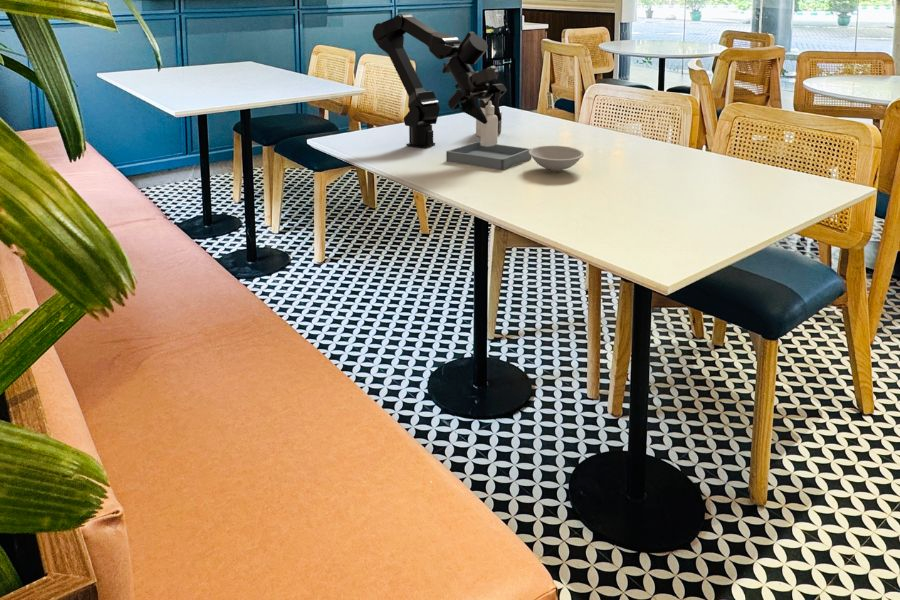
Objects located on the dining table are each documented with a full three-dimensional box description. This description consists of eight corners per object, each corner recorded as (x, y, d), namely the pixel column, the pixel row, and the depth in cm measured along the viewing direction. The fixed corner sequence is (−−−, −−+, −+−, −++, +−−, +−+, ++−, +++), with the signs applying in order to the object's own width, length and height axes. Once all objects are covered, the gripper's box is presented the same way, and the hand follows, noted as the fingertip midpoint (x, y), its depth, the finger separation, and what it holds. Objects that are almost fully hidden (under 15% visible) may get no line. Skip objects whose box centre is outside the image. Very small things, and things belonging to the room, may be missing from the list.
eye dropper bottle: (476, 144, 230) (477, 100, 225) (494, 142, 232) (495, 99, 227) (483, 147, 226) (484, 102, 221) (501, 145, 228) (502, 101, 223)
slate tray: (446, 161, 229) (446, 151, 228) (477, 151, 241) (477, 141, 240) (502, 170, 219) (502, 159, 218) (531, 158, 232) (531, 149, 231)
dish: (525, 163, 227) (526, 145, 225) (577, 163, 227) (579, 145, 225) (530, 179, 211) (531, 159, 209) (587, 179, 210) (588, 160, 209)
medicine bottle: (498, 137, 260) (499, 98, 255) (475, 136, 261) (476, 97, 257) (501, 133, 266) (502, 95, 262) (479, 132, 268) (480, 94, 263)
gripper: (456, 59, 216) (486, 107, 213) (502, 53, 228) (532, 99, 226) (434, 86, 224) (464, 133, 221) (480, 79, 236) (508, 124, 234)
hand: (493, 121), depth 225 cm, fingers closed on eye dropper bottle, 5 cm apart
